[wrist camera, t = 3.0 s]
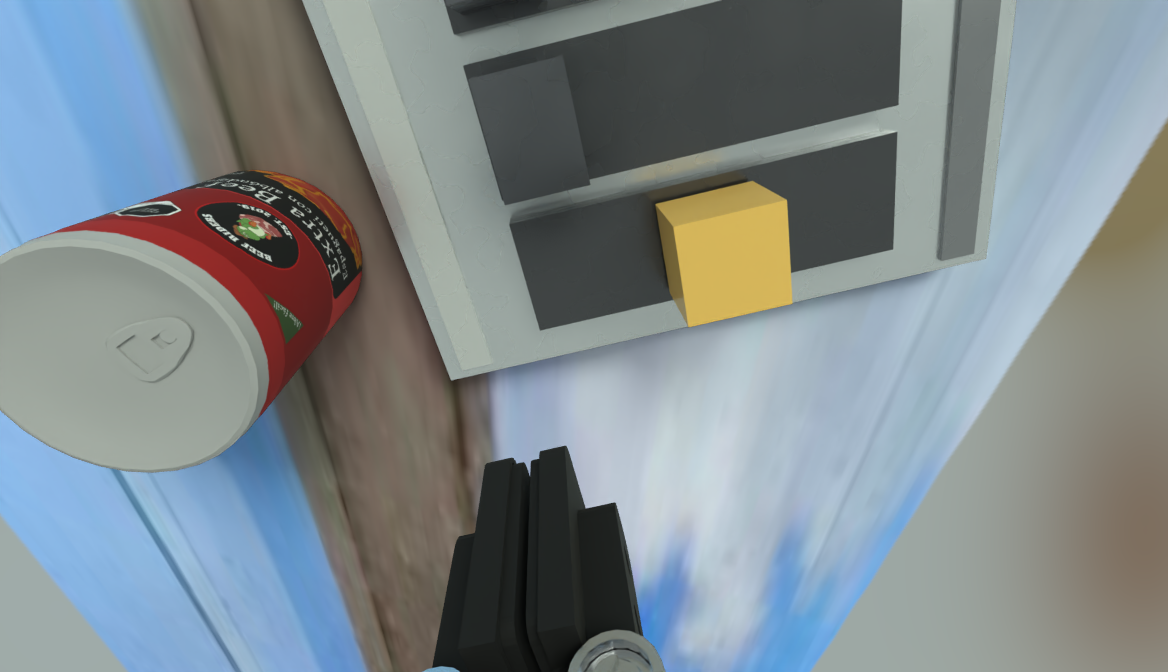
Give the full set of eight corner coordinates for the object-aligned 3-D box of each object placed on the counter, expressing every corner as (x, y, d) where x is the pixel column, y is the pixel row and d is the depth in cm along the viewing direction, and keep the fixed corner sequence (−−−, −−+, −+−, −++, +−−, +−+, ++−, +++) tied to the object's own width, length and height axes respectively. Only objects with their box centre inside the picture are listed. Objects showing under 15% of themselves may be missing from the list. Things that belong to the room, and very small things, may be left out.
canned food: (401, 244, 26) (310, 355, 16) (308, 356, 28) (178, 515, 18) (248, 124, 23) (24, 169, 13) (159, 259, 25) (-89, 383, 15)
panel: (1012, -354, 18) (1235, -555, 12) (957, 246, 27) (1068, 294, 22) (264, -149, 19) (140, -243, 13) (457, 360, 28) (434, 436, 23)
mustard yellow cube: (752, 180, 22) (787, 200, 19) (760, 272, 24) (792, 303, 21) (655, 204, 22) (673, 226, 19) (669, 293, 24) (688, 327, 21)
